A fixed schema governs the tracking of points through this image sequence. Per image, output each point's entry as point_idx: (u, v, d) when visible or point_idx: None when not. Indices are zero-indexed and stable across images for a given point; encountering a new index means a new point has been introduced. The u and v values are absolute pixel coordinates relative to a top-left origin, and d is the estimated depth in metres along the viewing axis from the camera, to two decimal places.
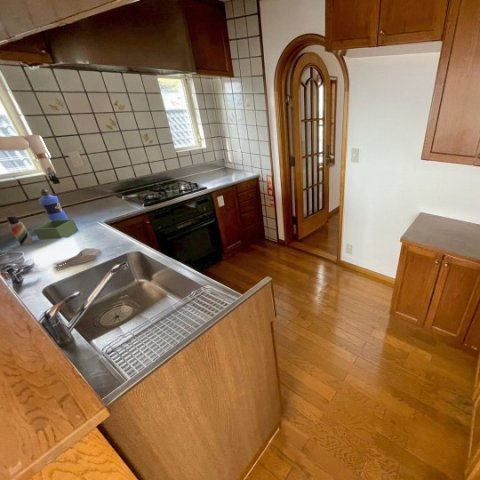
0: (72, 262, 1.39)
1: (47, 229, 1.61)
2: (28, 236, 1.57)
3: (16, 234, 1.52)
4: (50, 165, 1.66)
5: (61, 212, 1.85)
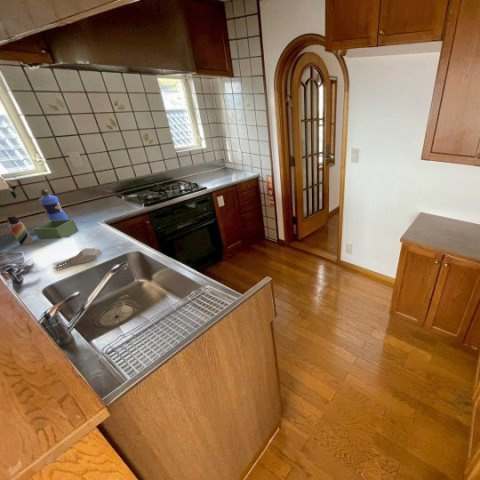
0: (72, 262, 1.39)
1: (47, 229, 1.61)
2: (28, 236, 1.57)
3: (16, 234, 1.52)
4: None
5: (61, 212, 1.85)
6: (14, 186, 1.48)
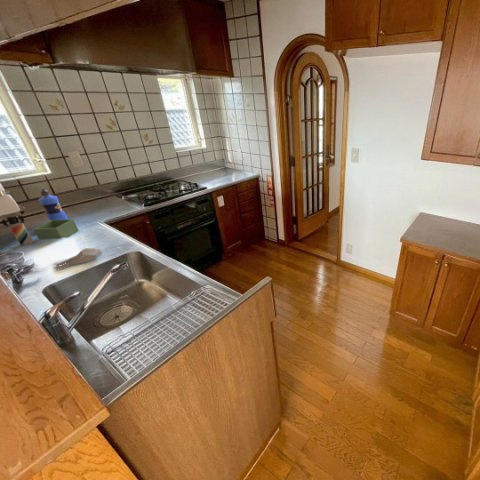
0: (72, 262, 1.39)
1: (47, 229, 1.61)
2: (28, 236, 1.57)
3: (16, 234, 1.52)
4: None
5: (61, 212, 1.85)
6: (22, 211, 1.53)
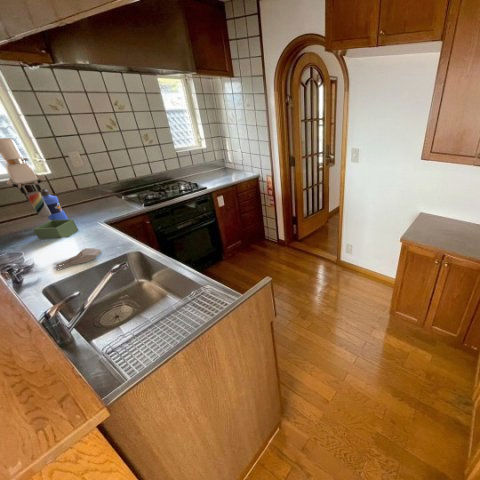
0: (72, 262, 1.39)
1: (47, 229, 1.61)
2: (45, 205, 1.60)
3: (33, 202, 1.56)
4: (9, 173, 1.46)
5: (61, 212, 1.85)
6: (39, 180, 1.56)
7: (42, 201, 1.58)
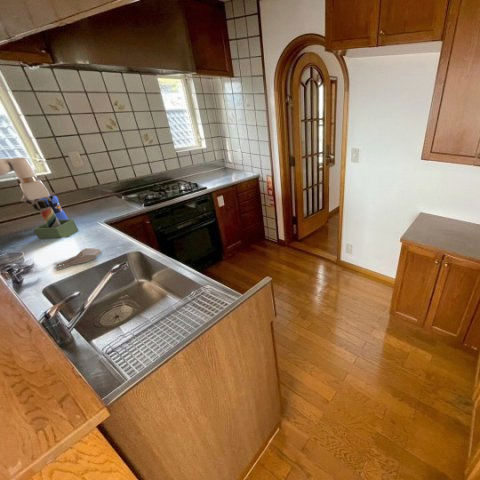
0: (72, 262, 1.39)
1: (47, 229, 1.61)
2: (56, 220, 1.66)
3: (46, 218, 1.62)
4: (23, 191, 1.52)
5: (61, 212, 1.85)
6: (51, 196, 1.62)
7: (54, 216, 1.65)
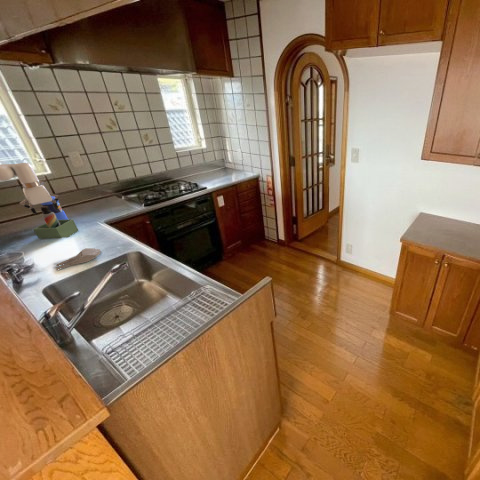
0: (72, 262, 1.39)
1: (47, 229, 1.61)
2: (59, 225, 1.68)
3: (49, 223, 1.64)
4: (26, 196, 1.53)
5: (61, 212, 1.85)
6: (56, 198, 1.64)
7: (57, 222, 1.66)
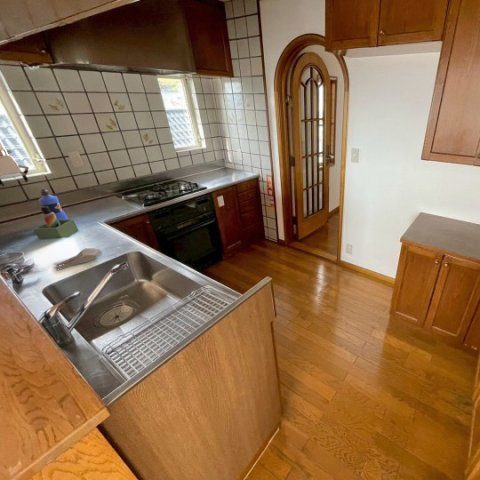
0: (72, 262, 1.39)
1: (47, 229, 1.61)
2: (59, 225, 1.68)
3: (49, 223, 1.64)
4: None
5: (61, 212, 1.85)
6: (26, 170, 1.56)
7: (57, 222, 1.66)
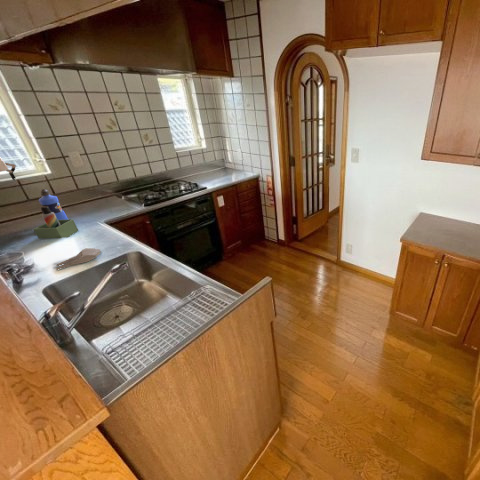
0: (72, 262, 1.39)
1: (47, 229, 1.61)
2: (59, 225, 1.68)
3: (49, 223, 1.64)
4: None
5: (61, 212, 1.85)
6: (13, 168, 1.55)
7: (57, 222, 1.66)
